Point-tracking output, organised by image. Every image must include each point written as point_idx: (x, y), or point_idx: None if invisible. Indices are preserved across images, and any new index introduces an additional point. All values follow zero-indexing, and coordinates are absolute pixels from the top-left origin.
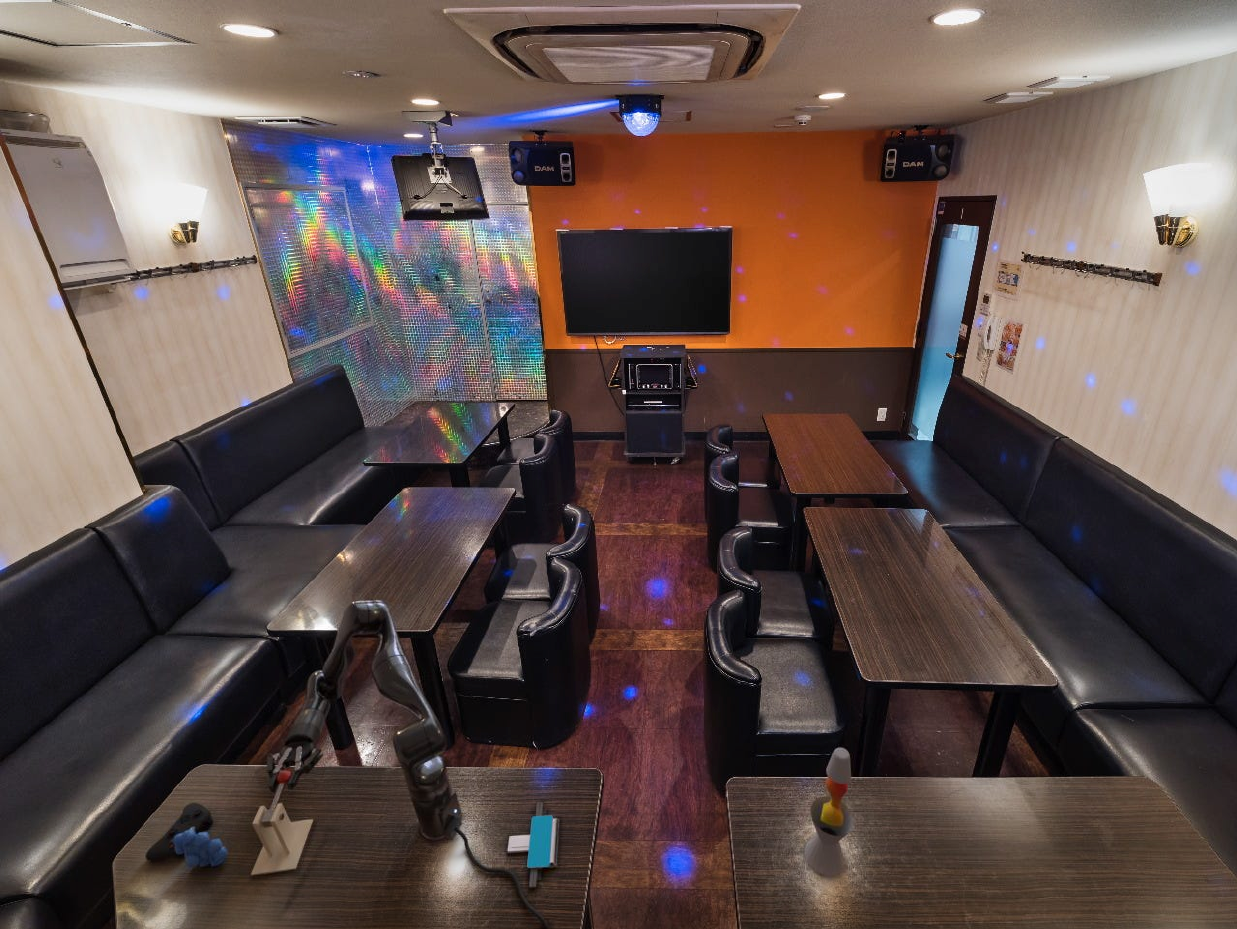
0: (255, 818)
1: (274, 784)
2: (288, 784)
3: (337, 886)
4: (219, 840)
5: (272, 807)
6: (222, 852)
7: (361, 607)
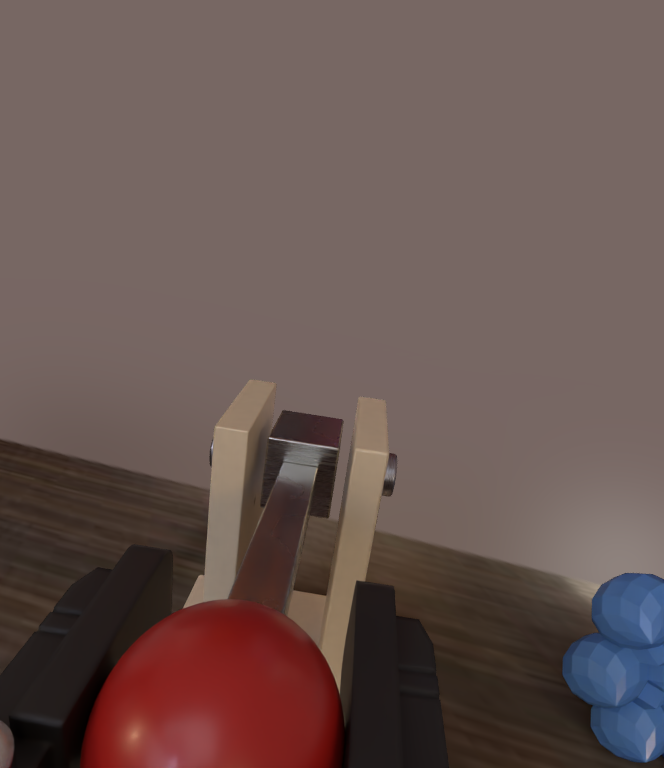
0: (379, 409)
1: (350, 636)
2: (157, 548)
3: (52, 516)
4: (626, 609)
5: (297, 475)
6: (583, 640)
7: None
